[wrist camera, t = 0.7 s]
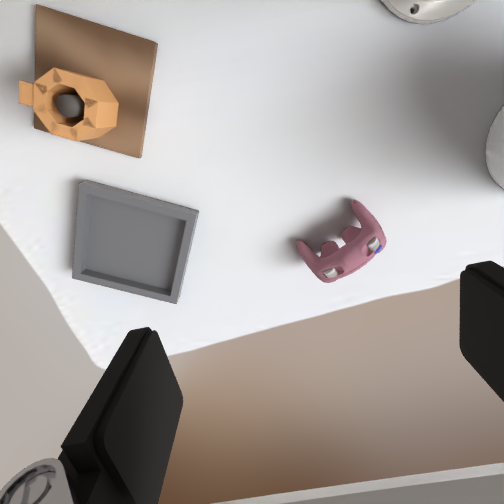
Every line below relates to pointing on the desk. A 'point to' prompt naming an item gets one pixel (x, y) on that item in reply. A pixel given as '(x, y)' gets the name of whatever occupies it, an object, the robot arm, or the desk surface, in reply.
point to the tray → (132, 241)
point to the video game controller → (346, 248)
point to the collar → (69, 83)
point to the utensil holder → (496, 149)
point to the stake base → (98, 72)
